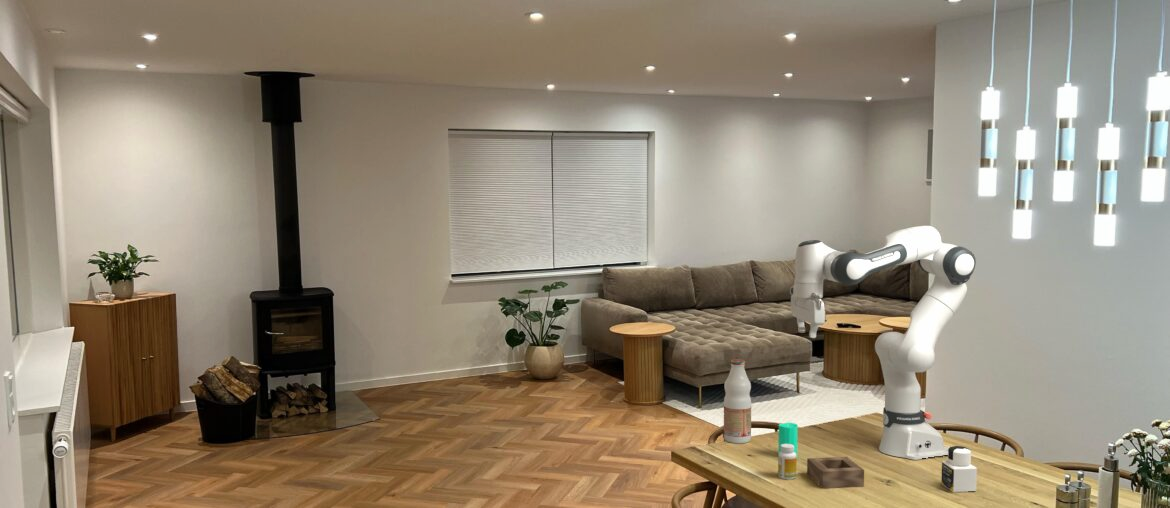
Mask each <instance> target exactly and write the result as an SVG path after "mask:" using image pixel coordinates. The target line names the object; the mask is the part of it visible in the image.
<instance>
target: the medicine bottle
mask: <svg viewBox="0 0 1170 508" xmlns="http://www.w3.org/2000/svg"><path fill="white" fill-rule="evenodd" d="M947 457H948V458H947V460H942V461H941V485H942V486H943V487H945V488H946V489H948V490H949V491H950V492H952V493H966V492H967V493H969V492H968V491H976V492H977V481H978V480H977V479H978V468H977V467H976V466H974V465H973V464H971V463H972V459H971V458H972V451H971V449H970V448H968V447H966V446H963V445H961V446H960V445H954V446H950V447H948V456H947Z"/></svg>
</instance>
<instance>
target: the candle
mask: <svg viewBox="0 0 1170 508" xmlns="http://www.w3.org/2000/svg"><path fill="white" fill-rule="evenodd" d="M782 444H792V445H794V451H793V452H795V453H796V459H797V458H798V424H797V423H794V422H784V423H779V424H778V450H777V451H778V454H779V452H780V451H782V450H781V445H782Z"/></svg>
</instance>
